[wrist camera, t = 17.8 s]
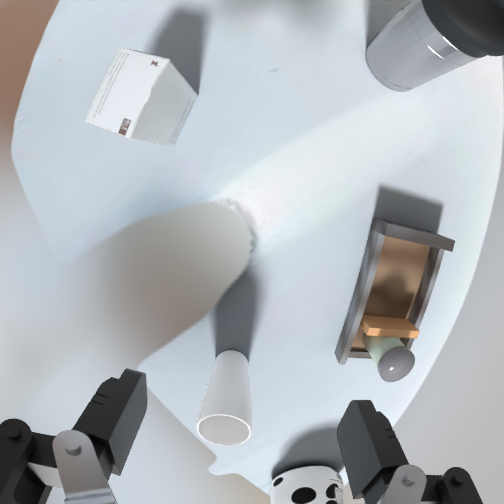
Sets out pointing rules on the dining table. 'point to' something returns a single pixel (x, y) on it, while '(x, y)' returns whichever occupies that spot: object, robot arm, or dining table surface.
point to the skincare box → (142, 98)
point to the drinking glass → (227, 402)
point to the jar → (389, 356)
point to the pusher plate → (388, 327)
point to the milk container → (307, 486)
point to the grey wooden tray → (392, 281)
